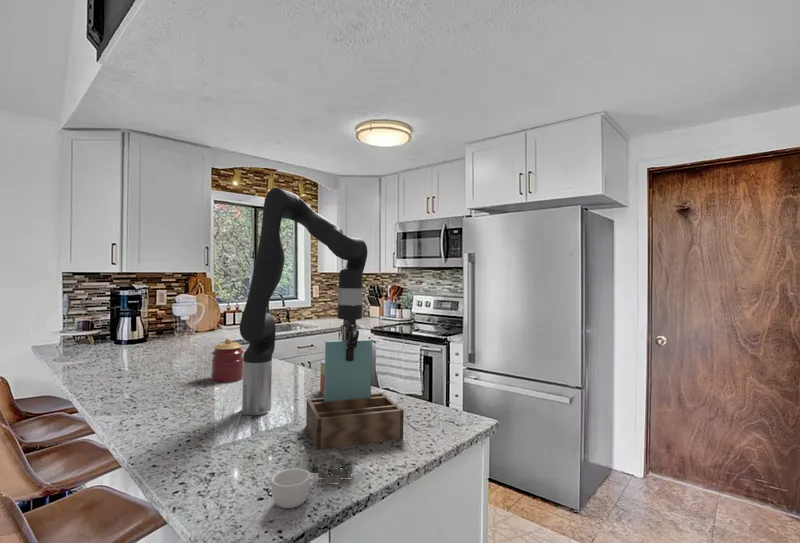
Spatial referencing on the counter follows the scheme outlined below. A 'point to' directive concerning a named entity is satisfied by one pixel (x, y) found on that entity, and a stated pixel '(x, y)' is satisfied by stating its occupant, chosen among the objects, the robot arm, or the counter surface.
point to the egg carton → (333, 467)
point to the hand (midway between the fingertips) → (348, 359)
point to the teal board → (347, 371)
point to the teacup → (291, 487)
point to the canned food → (322, 376)
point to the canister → (227, 362)
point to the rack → (353, 421)
